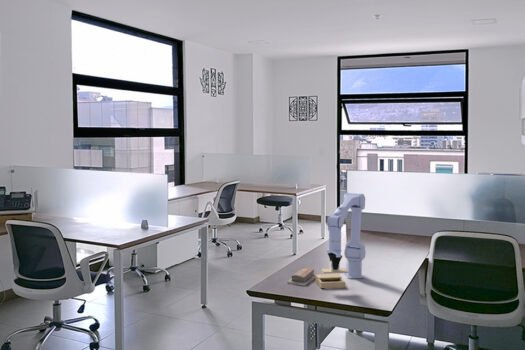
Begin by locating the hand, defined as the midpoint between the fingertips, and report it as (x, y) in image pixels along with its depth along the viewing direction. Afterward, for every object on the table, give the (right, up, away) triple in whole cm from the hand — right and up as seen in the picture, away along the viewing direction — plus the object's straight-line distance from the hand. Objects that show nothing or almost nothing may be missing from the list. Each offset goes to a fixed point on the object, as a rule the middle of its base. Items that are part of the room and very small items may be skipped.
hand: (334, 268), depth 240 cm
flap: (0, -2, 0) cm, 2 cm away
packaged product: (-14, -10, +18) cm, 25 cm away
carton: (-1, -10, +10) cm, 14 cm away
